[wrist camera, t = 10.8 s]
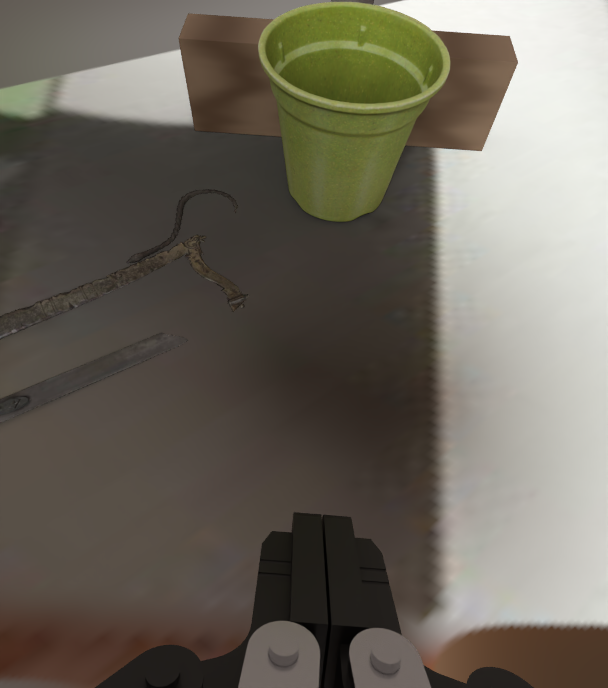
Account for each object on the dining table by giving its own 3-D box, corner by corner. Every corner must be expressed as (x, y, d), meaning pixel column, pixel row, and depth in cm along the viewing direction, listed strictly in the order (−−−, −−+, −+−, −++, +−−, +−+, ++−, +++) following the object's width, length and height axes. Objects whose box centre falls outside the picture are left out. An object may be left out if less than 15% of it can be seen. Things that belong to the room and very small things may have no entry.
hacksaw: (-205, 526, 19) (-239, 519, 18) (-213, 340, 24) (-241, 323, 23) (303, 298, 26) (304, 281, 25) (223, 186, 31) (220, 167, 30)
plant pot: (415, 155, 33) (454, 15, 25) (402, 257, 28) (446, 119, 20) (282, 133, 33) (282, -10, 26) (246, 229, 28) (234, 86, 21)
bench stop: (194, 130, 33) (168, -22, 25) (202, 105, 35) (179, -46, 27) (481, 150, 33) (541, 4, 25) (476, 124, 35) (531, -21, 27)
